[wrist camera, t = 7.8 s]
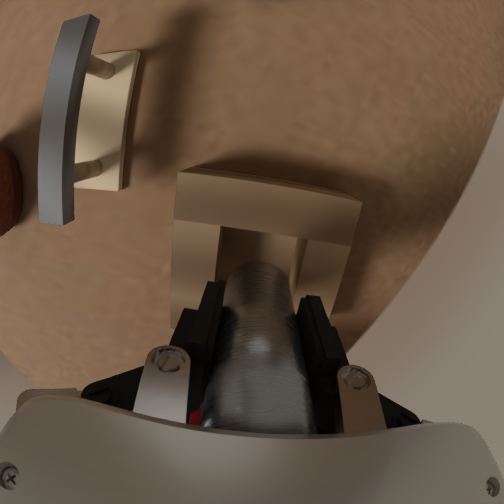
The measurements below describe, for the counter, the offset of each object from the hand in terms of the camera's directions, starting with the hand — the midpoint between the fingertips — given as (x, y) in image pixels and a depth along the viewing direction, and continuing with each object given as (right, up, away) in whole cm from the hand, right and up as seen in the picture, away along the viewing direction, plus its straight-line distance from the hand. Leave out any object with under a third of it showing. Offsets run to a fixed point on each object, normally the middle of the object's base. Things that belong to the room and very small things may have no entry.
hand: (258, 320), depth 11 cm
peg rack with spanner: (-11, +12, +4) cm, 17 cm away
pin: (0, +1, +3) cm, 3 cm away
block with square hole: (0, +3, +8) cm, 8 cm away
